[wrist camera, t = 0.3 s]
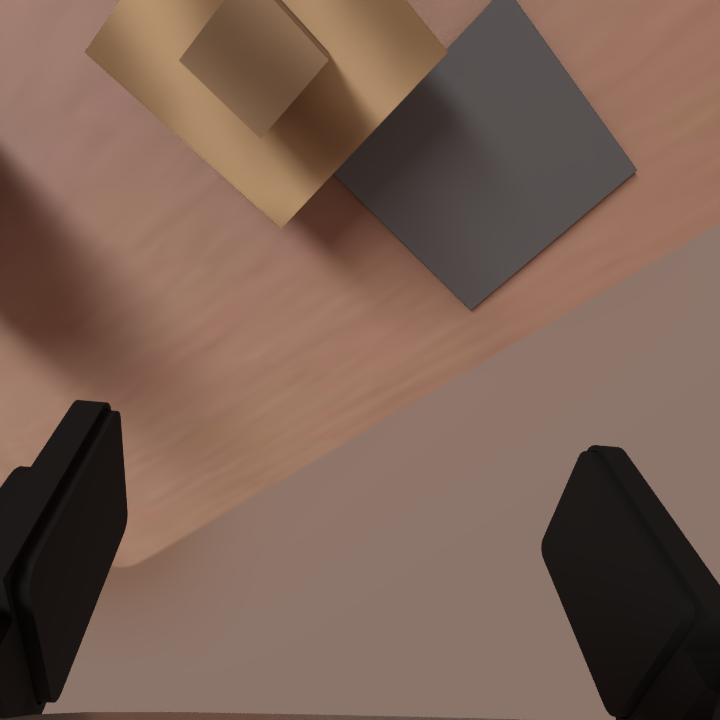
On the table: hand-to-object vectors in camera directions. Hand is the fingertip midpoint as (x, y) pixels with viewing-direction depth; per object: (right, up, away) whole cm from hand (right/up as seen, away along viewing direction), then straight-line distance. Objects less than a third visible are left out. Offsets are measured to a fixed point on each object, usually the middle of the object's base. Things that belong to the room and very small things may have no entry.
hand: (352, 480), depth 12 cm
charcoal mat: (+8, +15, +25) cm, 31 cm away
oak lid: (-4, +18, +16) cm, 24 cm away
